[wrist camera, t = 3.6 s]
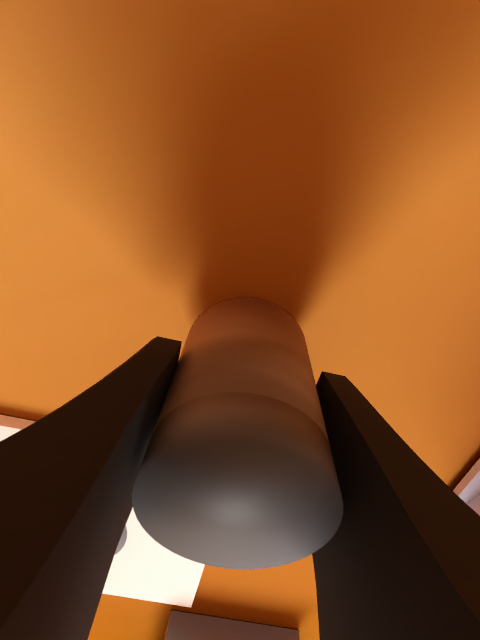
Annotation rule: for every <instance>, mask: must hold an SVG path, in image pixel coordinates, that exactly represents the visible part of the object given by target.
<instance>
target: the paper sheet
mask: <svg viewBox="0 0 480 640" xmlns="http://www.w3.org/2000/svg"><path fill="white" fill-rule="evenodd" d="M34 422H36V421H31V420H26V419H21V418H15V417H10V416H5V415H0V441H2V440H4V439H6V438H7V437H9V436H11V435H13V434H15V433H17V432H18V431H20V430H22V429H24V428H26V427H27V426H29V425H31V424H33V423H34ZM204 566H205V564H201V563H198V562H195V561H192V560H189V559H186V558H184V557H182V556H179V555H177V554H175V553H173V552H171V551H170V550H168V549H166V548H165V547H163V546H162V545H160V544H159V543H158V542H156V541H155V540H154V539H153V538H152V537H151V536H150V535H149V534H148V533H147V532H146V531H145V530H144V529H143V527H142V526H141V524H140V523H139V521H138V520H137V517H136V515H135V513H134V510H133V508H132V511H131V513H130V515H129V518H128V520H127V523H126V525H125V527H124V530H123V533H122V535H121V538H120V541H119V543H118V546H117V549H116V552H115V555H114V558H113V561H112V564H111V567H110V570H109V573H108V576H107V579H106V582H105V586H104V589H103V592H102V593H103V594H110V595H116V596H122V597H129V598H135V599H141V600H147V601H154V602H160V603H166V604H172V605H179V606H185V607H191V606H192V603H193V600H194V597H195V594H196V591H197V587H198V584H199V581H200V578H201V575H202V572H203V569H204Z"/></svg>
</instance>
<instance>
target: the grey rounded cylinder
mask: <svg viewBox="0 0 480 640" xmlns="http://www.w3.org/2000/svg"><path fill="white" fill-rule="evenodd" d="M132 505H133V510H134V513H135V515H136V517H137V520H138V521H139V523H140V524H141V526H142V527H143V529H144V530H145V531H146V532H147V533H148V534H149V535H150V536H151V537H152V538H153V539H154V540H155V541H156V542H158V543H159V544H160V545H162V546H163V547H165V548H166V549H168V550H170V551H171V552H173V553H175V554H177V555H179V556H182V557H184V558H186V559H189V560H192V561H195V562H198V563H201V564H205V565H210V566H214V567H220V568H228V569H264V568H271V567H277V566H281V565H285V564H289V563H292V562H295V561H298V560H300V559H302V558H305V557H307V556H309V555H311V554H312V553H314V552H316V551H317V550H319V549H320V548H321V547H323V546H324V545H325V544H326V543H327V542H328V541H329V540H330V539H331V538H332V537H333V536H334V534H335V533H336V532H337V530H338V528H339V526H340V524H341V520H342V516H343V500H342V495H341V491H340V487H339V482H338V478H337V474H336V470H335V465H334V461H333V457H332V453H331V448H330V444H329V440H328V436H327V431H326V427H325V423H324V418H323V414H322V410H321V406H320V401H319V397H318V393H317V389H316V384H315V380H314V376H313V372H312V367H311V363H310V359H309V355H308V350H307V346H306V342H305V338H304V335H303V332H302V330H301V328H300V326H299V325H298V323H297V322H296V320H295V319H294V318H293V317H292V316H291V315H290V314H289V313H288V312H286V311H285V310H284V309H282V308H281V307H279V306H277V305H275V304H273V303H270V302H268V301H264V300H261V299H255V298H234V299H229V300H225V301H222V302H219V303H217V304H215V305H213V306H211V307H210V308H208V309H207V310H205V311H204V312H203V313H202V314H201V315H200V316H199V317H198V318H197V319H196V321H195V322H194V324H193V325H192V327H191V329H190V331H189V334H188V337H187V339H186V342H185V345H184V348H183V351H182V353H181V356H180V359H179V362H178V365H177V368H176V371H175V373H174V376H173V379H172V382H171V384H170V387H169V390H168V393H167V395H166V398H165V400H164V403H163V406H162V409H161V411H160V414H159V417H158V420H157V423H156V425H155V428H154V431H153V434H152V436H151V439H150V442H149V445H148V447H147V450H146V453H145V456H144V459H143V461H142V464H141V467H140V470H139V472H138V475H137V478H136V481H135V483H134V487H133V492H132Z"/></svg>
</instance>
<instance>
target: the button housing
mask: <svg viewBox="0 0 480 640" xmlns="http://www.w3.org/2000/svg"><path fill="white" fill-rule="evenodd" d="M163 640H299V630H294V629H288V628H281V627H275V626H269V625H263V624H256V623H250V622H244V621H237V620H231V619H225V618H218V617H212V616H206V615H199V614H193V613H187V612H180V611H174V610H171V613H170V617H169V620H168V624H167V628H166V632H165V635H164V639H163Z"/></svg>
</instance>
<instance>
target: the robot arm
mask: <svg viewBox="0 0 480 640" xmlns="http://www.w3.org/2000/svg"><path fill="white" fill-rule="evenodd" d="M180 348H181V341H177V340H172V339H167V338H163V337H158V336H157V337H156V338H154V339H152V340H151V341H150V342H149V343H148V344H146V345H145V346H144V347H143V348H142V349H140V350H139V351H138V352H137V353H136V354H134V355H133V356H132V357H131V358H129V359H128V360H127V361H125V362H124V363H123V364H122V365H120V366H119V367H118V368H116V369H115V370H114V371H112V372H111V373H110V374H108V375H107V376H105V377H104V378H103V379H101V380H100V381H99V382H97V383H96V384H94V385H93V386H91V387H90V388H88V389H87V390H85V391H84V392H82V393H81V394H79V395H78V396H76V397H75V398H73V399H72V400H70V401H69V402H67V403H66V404H64V405H63V406H61V407H60V408H58V409H56V410H55V411H53V412H51V413H50V414H48V415H46V416H45V417H43V418H41V419H40V420H38V421H36V422H34V423H33V424H31V425H29V426H27V427H26V428H24V429H22V430H20V431H18V432H17V433H15V434H13V435H11V436H9V437H7V438H6V439H4V440H2V441H0V640H87V639H88V636H89V633H90V630H91V626H92V623H93V620H94V617H95V614H96V611H97V607H98V604H99V601H100V598H101V595H102V592H103V589H104V586H105V582H106V579H107V576H108V573H109V570H110V567H111V564H112V561H113V558H114V555H115V552H116V549H117V546H118V543H119V541H120V538H121V535H122V533H123V530H124V527H125V525H126V523H127V520H128V518H129V515H130V513H131V511H132V508H133V505H132V492H133V487H134V483H135V481H136V478H137V475H138V472H139V470H140V467H141V464H142V461H143V459H144V456H145V453H146V450H147V447H148V445H149V442H150V439H151V436H152V434H153V431H154V428H155V425H156V423H157V420H158V417H159V414H160V411H161V409H162V406H163V403H164V400H165V398H166V395H167V393H168V390H169V387H170V384H171V382H172V379H173V376H174V373H175V371H176V368H177V365H178V360H179V354H180ZM316 389H317V393H318V397H319V401H320V406H321V410H322V414H323V418H324V423H325V427H326V431H327V436H328V440H329V444H330V448H331V453H332V457H333V461H334V465H335V470H336V474H337V478H338V482H339V487H340V491H341V495H342V500H343V516H342V520H341V524H340V526H339V528H338V530H337V532H336V533H335V534H334V536H333V537H332V538H331V539H330V540H329V541H328V542H327V543H326V544H325V545H324V546H323V547H321V548H320V549H319V550H317V551H316V552H314V553H312V555H313V562H314V570H315V579H316V588H317V603H318V619H319V634H320V640H480V458H479V459H478V461H477V462H476V463H475V464H474V466H473V467H472V468H471V469H470V470H469V472H468V473H467V474H466V475H465V477H464V478H463V479H462V480H461V481H460V483H459V484H458V485H457V486H456V487H455V489H454V490H453V491H452V490H451V489H450V488H449V487H448V486H447V485H446V484H445V483H444V482H443V481H442V480H441V479H440V478H439V477H438V476H437V475H436V474H435V473H434V472H433V471H432V470H431V469H430V468H429V467H428V466H427V465H426V464H425V463H424V462H423V461H422V460H421V459H420V458H419V457H418V455H417V454H416V453H415V452H414V451H413V450H412V449H411V448H410V447H409V446H408V445H407V444H406V443H405V442H404V441H403V440H402V438H401V437H400V436H399V435H398V434H397V433H396V432H395V431H394V430H393V429H392V427H391V426H390V425H389V424H388V423H387V422H386V421H385V420H384V419H383V417H382V416H381V415H380V414H379V413H378V412H377V411H376V409H375V408H374V407H373V406H372V405H371V404H370V403H369V402H368V400H367V399H366V398H365V397H364V396H363V395H362V394H361V393H360V391H359V390H358V389H357V388H356V387H355V386H354V385H353V384H352V383H351V382H350V381H349V380H348V379H347V378H346V377H345V376H341V375H337V374H332V373H327V372H323V371H322V373H321V375H320V377H319V380H318V382H317V385H316Z"/></svg>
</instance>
